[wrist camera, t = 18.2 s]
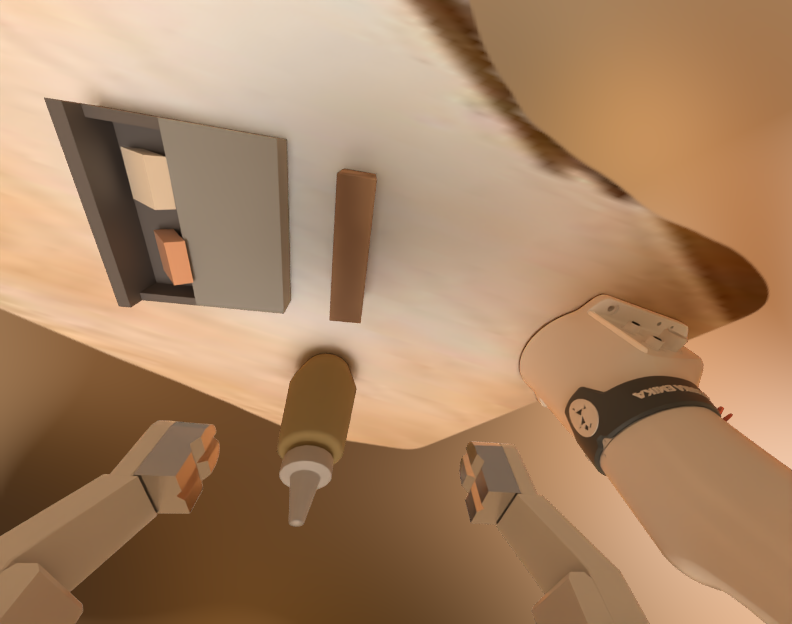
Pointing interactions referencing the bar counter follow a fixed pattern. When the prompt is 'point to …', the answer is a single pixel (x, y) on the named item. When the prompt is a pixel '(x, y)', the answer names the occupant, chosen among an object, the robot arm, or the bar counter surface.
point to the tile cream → (149, 178)
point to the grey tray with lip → (184, 207)
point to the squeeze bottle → (314, 429)
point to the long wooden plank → (351, 243)
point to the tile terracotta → (173, 256)
